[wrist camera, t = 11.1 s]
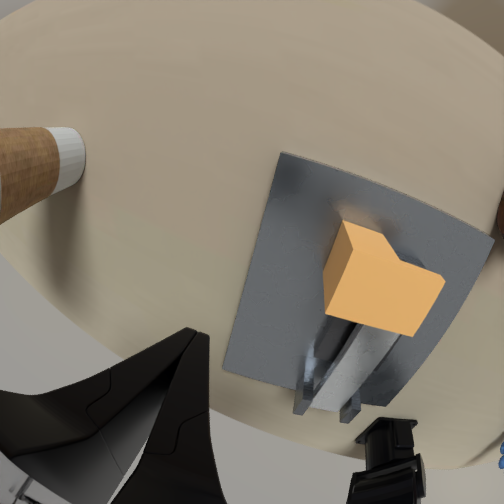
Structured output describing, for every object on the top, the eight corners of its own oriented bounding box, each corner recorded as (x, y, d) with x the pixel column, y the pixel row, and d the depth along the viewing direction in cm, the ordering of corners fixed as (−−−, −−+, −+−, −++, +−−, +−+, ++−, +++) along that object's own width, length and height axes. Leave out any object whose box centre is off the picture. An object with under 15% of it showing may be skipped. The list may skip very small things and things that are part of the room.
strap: (337, 403, 23) (337, 412, 22) (308, 397, 23) (307, 406, 22) (420, 287, 16) (424, 295, 15) (383, 275, 16) (386, 283, 15)
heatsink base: (384, 396, 25) (389, 432, 21) (226, 358, 27) (211, 395, 22) (486, 233, 17) (518, 258, 12) (282, 151, 18) (274, 155, 14)
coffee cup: (39, 182, 23) (-71, 230, 10) (52, 107, 19) (-75, 129, 6) (86, 211, 23) (-41, 282, 10) (105, 125, 19) (-56, 154, 6)
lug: (395, 294, 19) (412, 336, 14) (322, 272, 19) (324, 313, 15) (418, 247, 17) (445, 281, 13) (342, 219, 18) (353, 249, 13)
